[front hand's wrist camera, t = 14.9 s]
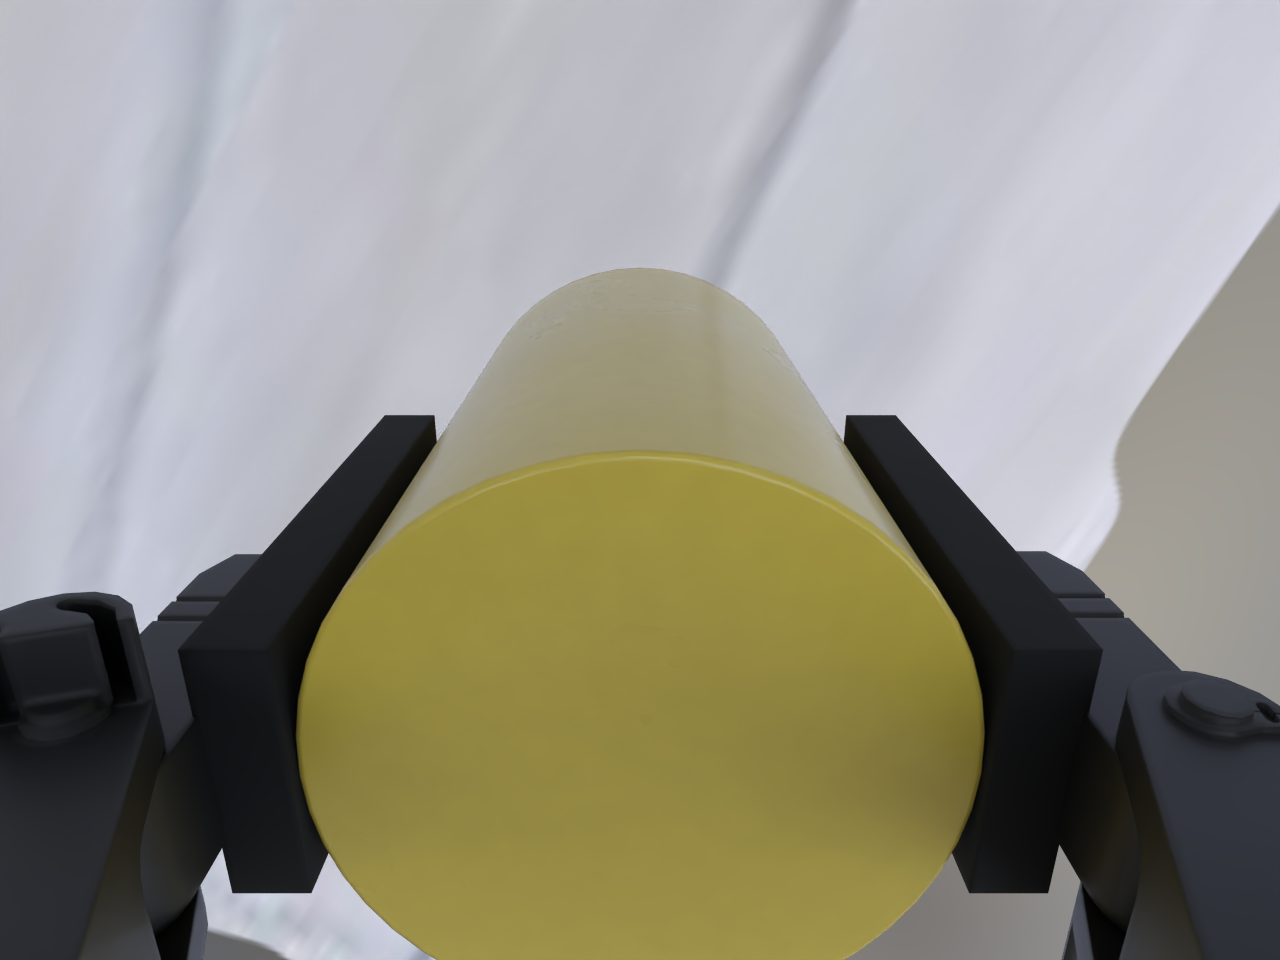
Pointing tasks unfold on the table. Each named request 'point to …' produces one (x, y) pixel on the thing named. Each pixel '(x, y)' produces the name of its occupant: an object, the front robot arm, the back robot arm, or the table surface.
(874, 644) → the can
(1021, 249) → the table surface
